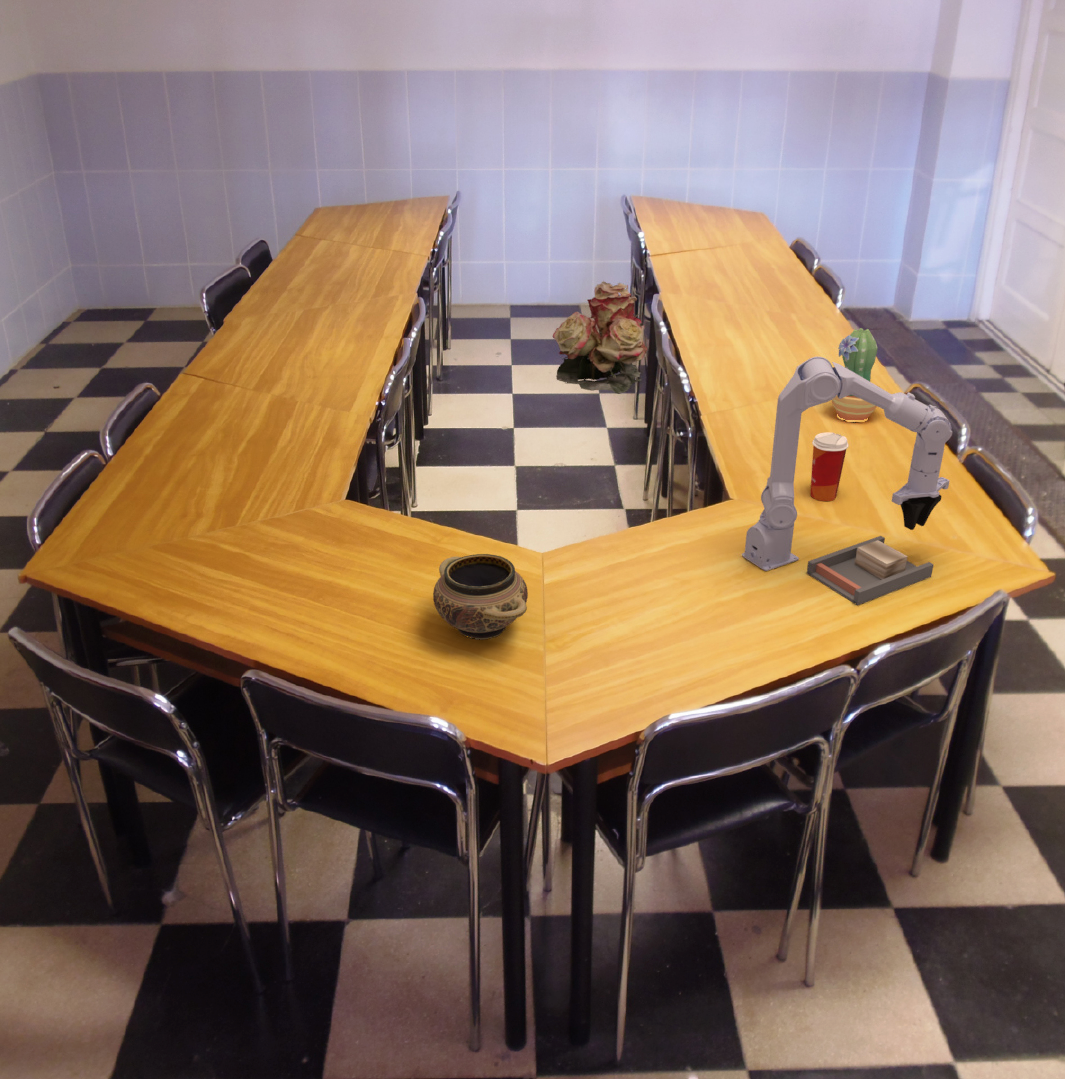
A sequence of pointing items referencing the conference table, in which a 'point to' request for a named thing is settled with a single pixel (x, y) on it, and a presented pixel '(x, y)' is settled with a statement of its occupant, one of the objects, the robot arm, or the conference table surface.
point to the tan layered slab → (880, 559)
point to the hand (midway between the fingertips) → (914, 526)
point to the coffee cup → (827, 465)
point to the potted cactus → (859, 360)
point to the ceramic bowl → (480, 594)
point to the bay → (861, 575)
